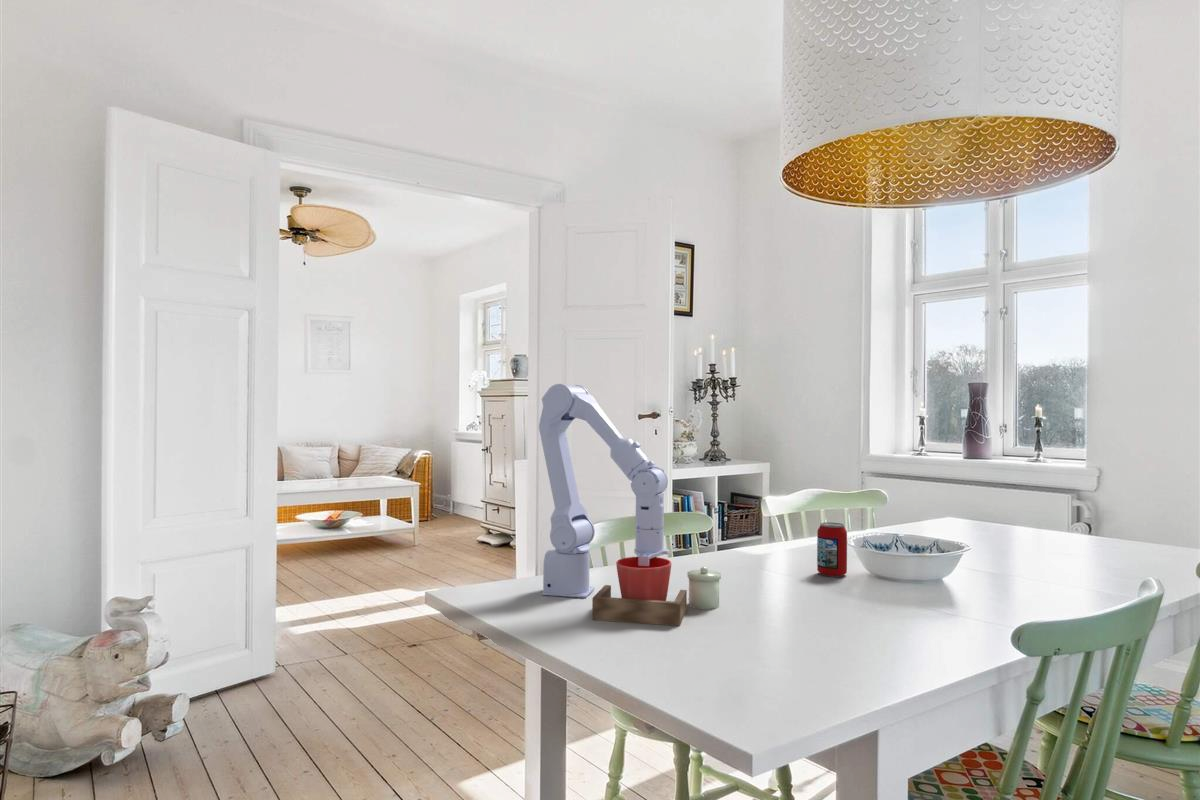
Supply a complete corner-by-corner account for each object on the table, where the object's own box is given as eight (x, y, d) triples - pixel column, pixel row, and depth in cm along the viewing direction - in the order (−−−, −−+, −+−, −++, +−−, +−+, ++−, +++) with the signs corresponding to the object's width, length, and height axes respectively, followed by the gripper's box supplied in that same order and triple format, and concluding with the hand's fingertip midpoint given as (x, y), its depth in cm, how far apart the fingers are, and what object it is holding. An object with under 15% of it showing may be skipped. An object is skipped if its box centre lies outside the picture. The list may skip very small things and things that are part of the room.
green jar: (685, 608, 148) (685, 569, 148) (689, 600, 154) (689, 562, 154) (719, 610, 146) (719, 571, 146) (721, 602, 153) (722, 564, 153)
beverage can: (811, 573, 181) (811, 522, 181) (833, 570, 184) (833, 521, 184) (830, 578, 175) (831, 526, 175) (853, 576, 178) (853, 525, 178)
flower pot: (606, 615, 142) (606, 564, 142) (629, 602, 152) (630, 553, 152) (658, 623, 138) (658, 569, 138) (679, 608, 147) (679, 558, 147)
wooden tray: (592, 619, 139) (592, 597, 139) (604, 605, 150) (605, 584, 150) (679, 625, 136) (679, 603, 136) (686, 610, 146) (686, 590, 146)
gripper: (664, 534, 144) (663, 605, 144) (673, 523, 159) (673, 587, 158) (627, 532, 146) (627, 602, 146) (640, 521, 160) (640, 585, 160)
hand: (649, 595), depth 152 cm, fingers closed
